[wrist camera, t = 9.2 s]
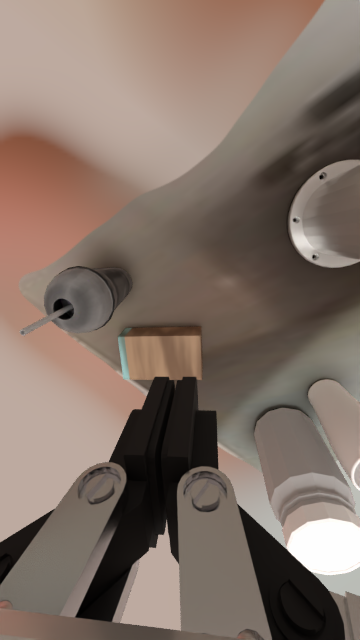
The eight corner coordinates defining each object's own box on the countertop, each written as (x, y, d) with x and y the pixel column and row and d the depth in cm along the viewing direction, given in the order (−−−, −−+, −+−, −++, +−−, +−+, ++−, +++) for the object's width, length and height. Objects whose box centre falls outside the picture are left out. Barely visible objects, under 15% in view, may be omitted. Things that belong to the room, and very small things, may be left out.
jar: (294, 459, 45) (345, 592, 28) (242, 438, 45) (263, 559, 28) (324, 417, 42) (402, 538, 25) (269, 394, 42) (311, 501, 25)
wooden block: (200, 335, 36) (117, 336, 38) (201, 379, 38) (123, 379, 40) (201, 326, 40) (126, 327, 41) (202, 367, 42) (131, 367, 43)
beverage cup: (150, 288, 39) (95, 335, 20) (115, 314, 41) (34, 381, 22) (120, 248, 37) (29, 257, 19) (85, 277, 39) (-30, 313, 20)
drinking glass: (355, 380, 40) (436, 460, 26) (335, 415, 42) (400, 506, 28) (312, 368, 40) (370, 440, 26) (295, 403, 42) (339, 487, 28)
